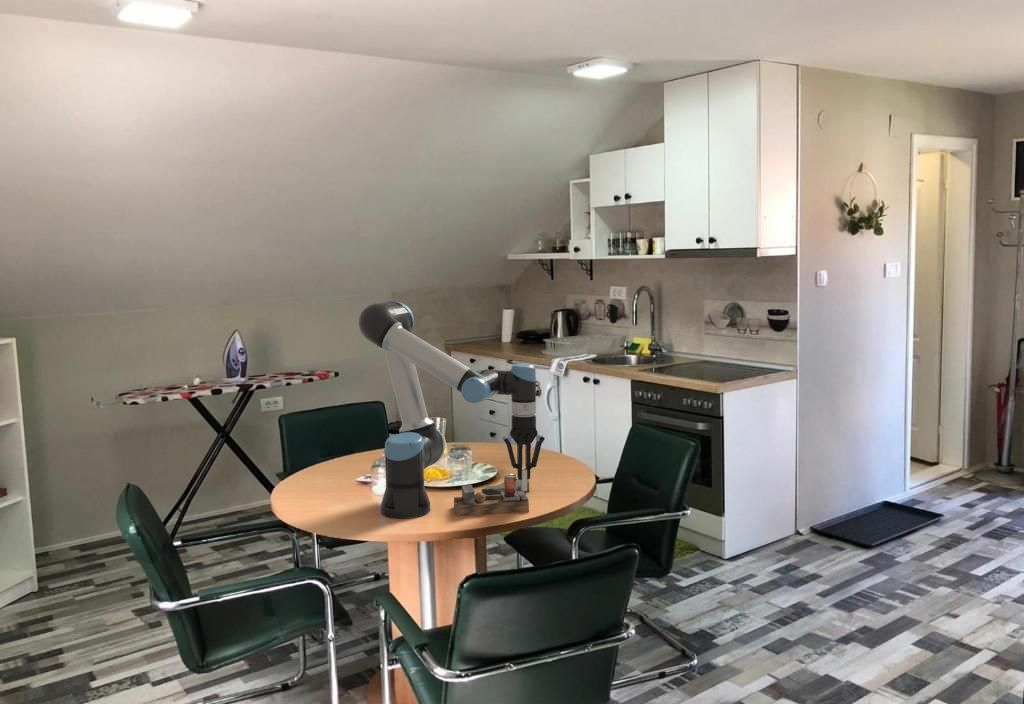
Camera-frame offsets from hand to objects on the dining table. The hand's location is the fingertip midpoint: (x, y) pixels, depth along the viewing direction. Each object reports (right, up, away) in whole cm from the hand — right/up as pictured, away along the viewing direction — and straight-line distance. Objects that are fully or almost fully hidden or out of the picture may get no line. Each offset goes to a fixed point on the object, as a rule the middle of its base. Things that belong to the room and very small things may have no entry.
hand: (523, 489), depth 260 cm
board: (-10, -6, -1) cm, 12 cm away
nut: (-14, -4, -2) cm, 14 cm away
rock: (-6, -4, +18) cm, 19 cm away
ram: (-4, -4, 0) cm, 6 cm away
